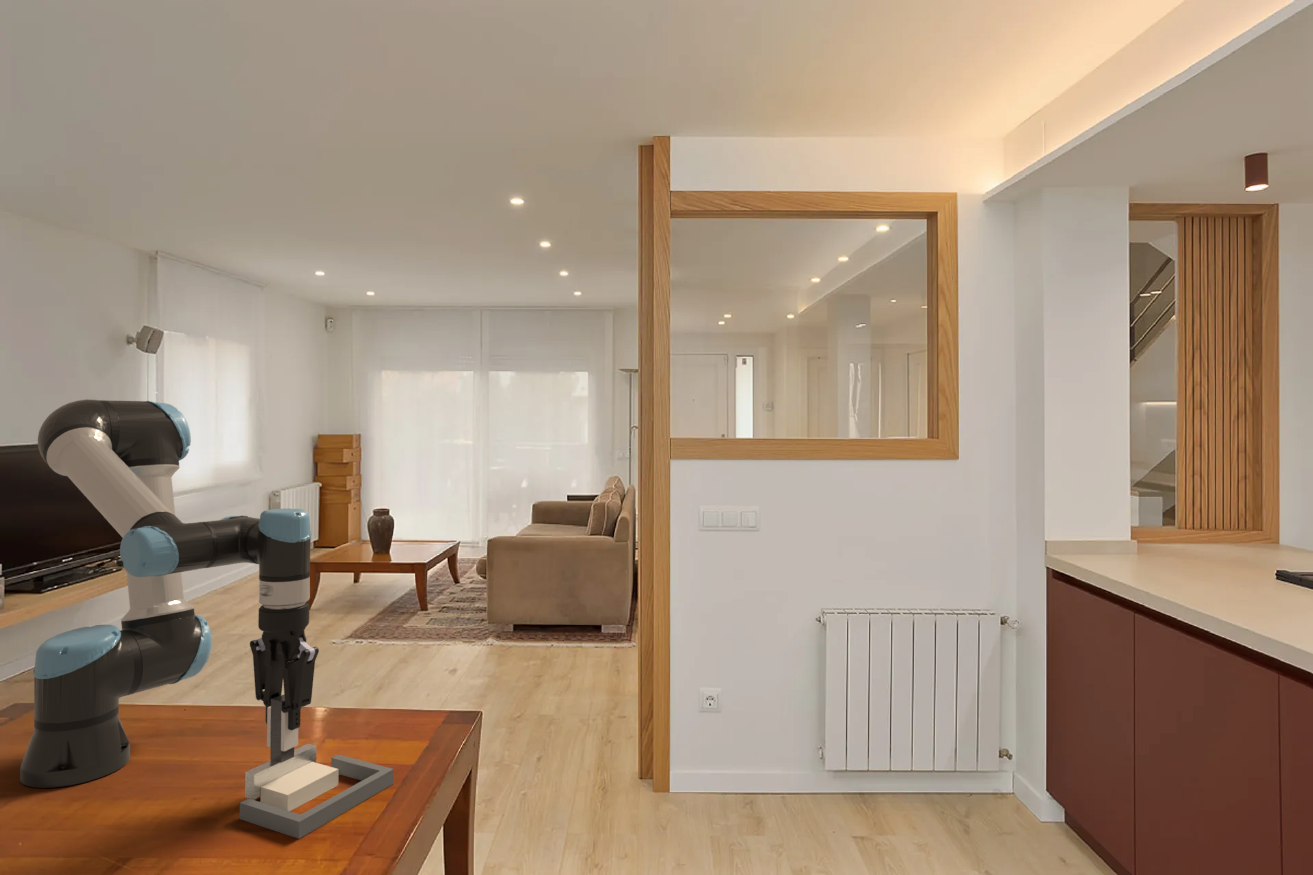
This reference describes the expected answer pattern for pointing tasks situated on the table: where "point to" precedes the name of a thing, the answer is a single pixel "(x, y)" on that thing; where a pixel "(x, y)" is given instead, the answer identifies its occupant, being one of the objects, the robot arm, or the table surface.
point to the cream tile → (299, 786)
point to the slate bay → (301, 825)
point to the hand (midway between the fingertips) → (282, 745)
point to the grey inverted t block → (277, 756)
